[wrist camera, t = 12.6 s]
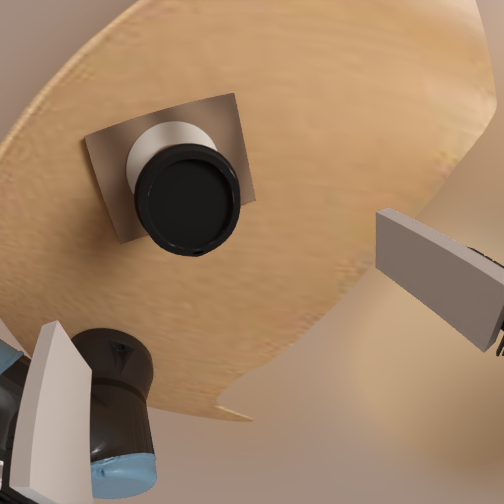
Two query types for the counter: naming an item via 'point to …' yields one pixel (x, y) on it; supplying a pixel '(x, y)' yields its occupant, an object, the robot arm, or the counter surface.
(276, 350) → the counter surface
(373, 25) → the counter surface
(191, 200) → the coffee cup
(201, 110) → the board
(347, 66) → the counter surface
